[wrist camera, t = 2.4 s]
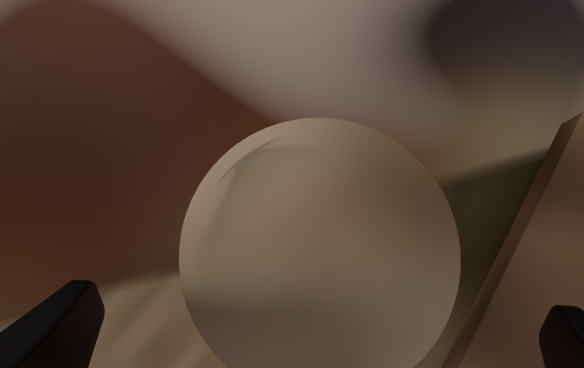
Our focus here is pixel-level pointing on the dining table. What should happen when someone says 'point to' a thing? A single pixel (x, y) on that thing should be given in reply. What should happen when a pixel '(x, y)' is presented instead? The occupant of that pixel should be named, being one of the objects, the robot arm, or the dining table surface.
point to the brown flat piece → (531, 265)
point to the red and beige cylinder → (319, 251)
